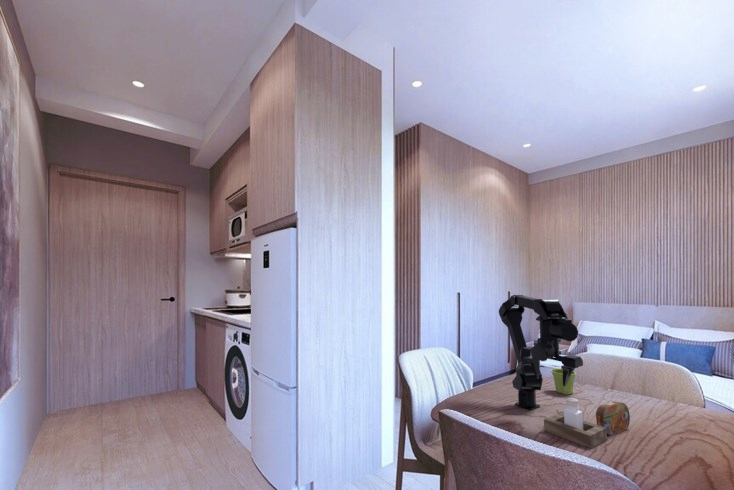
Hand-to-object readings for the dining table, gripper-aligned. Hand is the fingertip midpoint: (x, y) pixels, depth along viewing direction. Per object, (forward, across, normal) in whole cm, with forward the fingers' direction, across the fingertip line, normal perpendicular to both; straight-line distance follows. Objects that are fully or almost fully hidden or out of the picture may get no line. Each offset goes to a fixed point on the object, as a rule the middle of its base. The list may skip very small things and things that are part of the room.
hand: (550, 382), depth 114 cm
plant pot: (+14, -13, +35) cm, 40 cm away
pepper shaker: (+12, +9, -5) cm, 16 cm away
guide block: (+12, +10, -5) cm, 16 cm away
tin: (+13, +14, +9) cm, 21 cm away
